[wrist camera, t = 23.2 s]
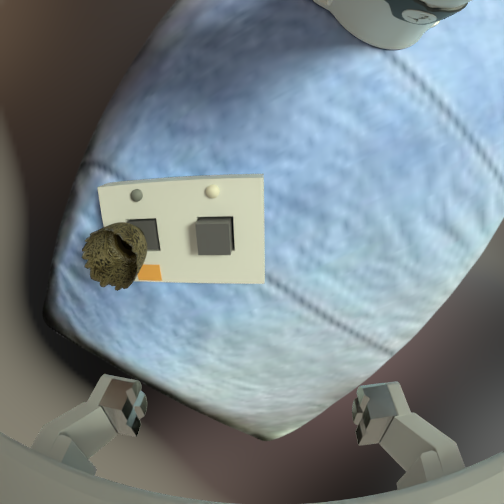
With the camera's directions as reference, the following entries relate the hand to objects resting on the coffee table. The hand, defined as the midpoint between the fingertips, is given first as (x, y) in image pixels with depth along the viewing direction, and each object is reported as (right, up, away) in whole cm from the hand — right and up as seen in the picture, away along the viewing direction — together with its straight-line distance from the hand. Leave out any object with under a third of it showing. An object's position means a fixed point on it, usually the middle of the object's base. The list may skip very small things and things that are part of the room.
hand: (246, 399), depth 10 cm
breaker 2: (-4, +8, +29) cm, 30 cm away
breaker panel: (-9, +9, +31) cm, 33 cm away
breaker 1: (-14, +9, +31) cm, 35 cm away
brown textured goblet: (-15, +7, +28) cm, 33 cm away
